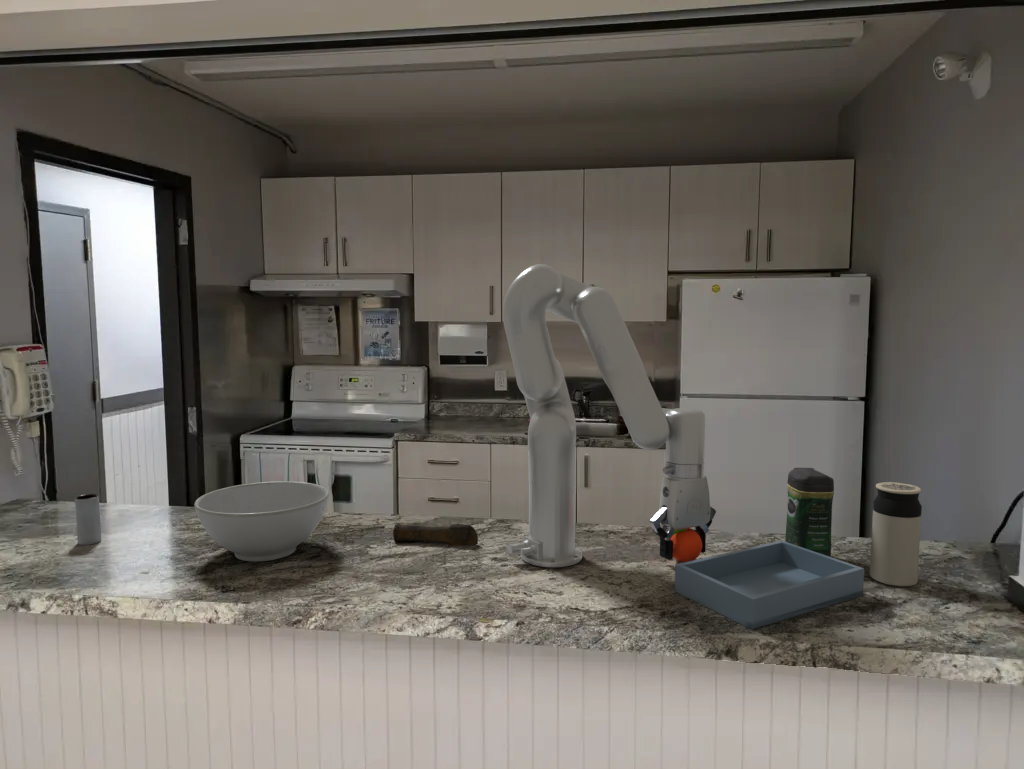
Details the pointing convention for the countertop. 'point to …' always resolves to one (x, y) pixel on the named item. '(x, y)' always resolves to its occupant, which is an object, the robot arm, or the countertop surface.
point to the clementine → (686, 545)
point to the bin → (768, 582)
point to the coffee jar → (809, 510)
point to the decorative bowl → (262, 517)
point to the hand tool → (437, 534)
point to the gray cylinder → (88, 519)
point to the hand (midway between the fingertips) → (682, 553)
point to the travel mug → (896, 534)
